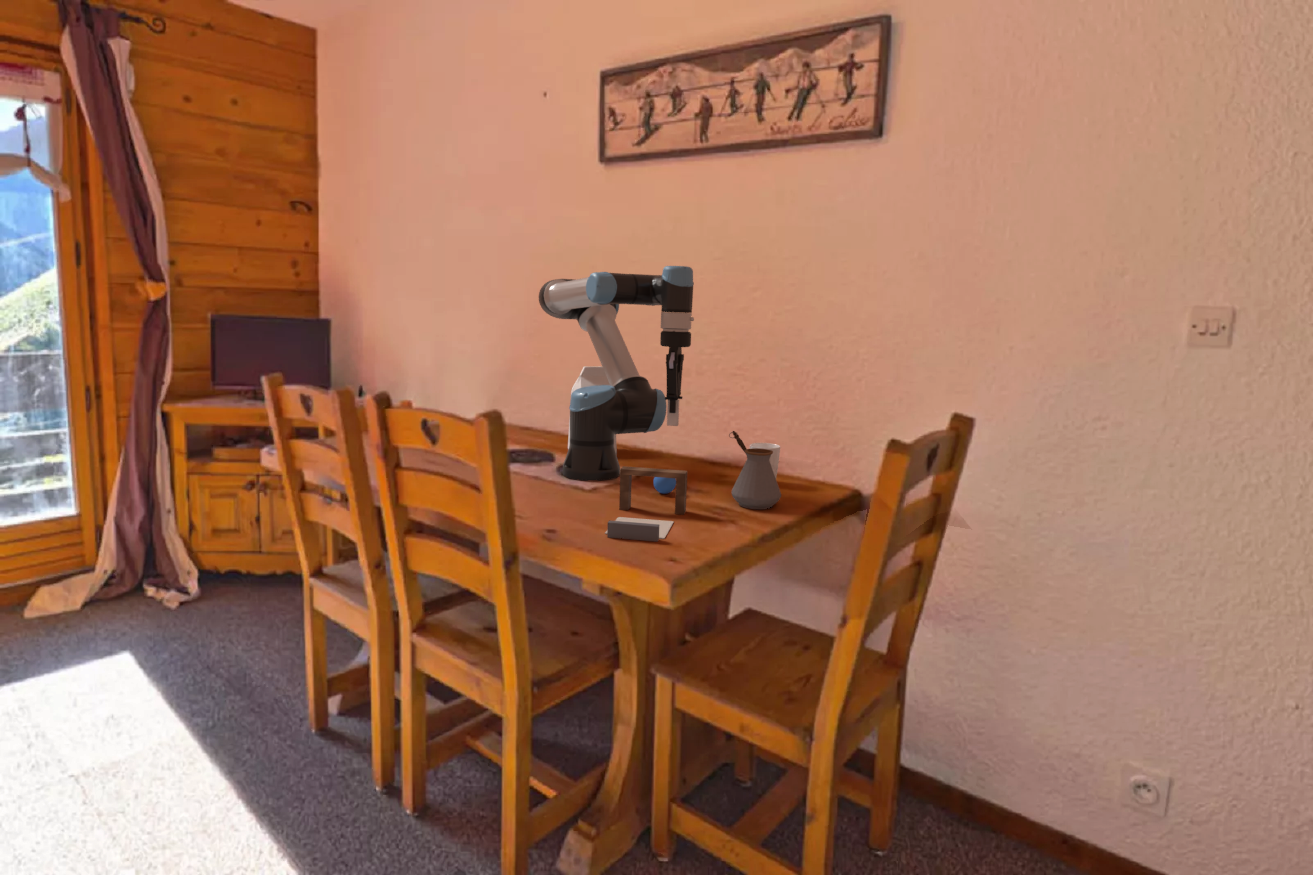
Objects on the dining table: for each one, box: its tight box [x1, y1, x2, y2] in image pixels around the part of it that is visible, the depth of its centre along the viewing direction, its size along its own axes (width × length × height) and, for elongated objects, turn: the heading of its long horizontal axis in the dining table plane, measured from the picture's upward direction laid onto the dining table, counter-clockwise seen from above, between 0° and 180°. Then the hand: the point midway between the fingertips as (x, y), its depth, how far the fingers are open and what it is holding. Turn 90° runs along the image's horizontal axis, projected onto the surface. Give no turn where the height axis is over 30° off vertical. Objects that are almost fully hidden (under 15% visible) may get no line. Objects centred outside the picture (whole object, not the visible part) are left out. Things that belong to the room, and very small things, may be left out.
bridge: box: [618, 465, 688, 516], centre depth 170 cm, size 14×3×9 cm, turn 80°
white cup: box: [749, 442, 781, 479], centre depth 200 cm, size 8×8×10 cm
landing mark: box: [604, 516, 675, 540], centre depth 157 cm, size 12×12×1 cm
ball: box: [653, 477, 676, 495], centre depth 186 cm, size 6×6×6 cm
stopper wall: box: [606, 520, 660, 542], centre depth 150 cm, size 10×2×3 cm, turn 80°
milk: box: [567, 366, 618, 455], centre depth 233 cm, size 12×12×26 cm
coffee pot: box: [728, 430, 782, 510], centre depth 182 cm, size 21×12×15 cm, turn 17°
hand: (672, 425), depth 192 cm, fingers closed
